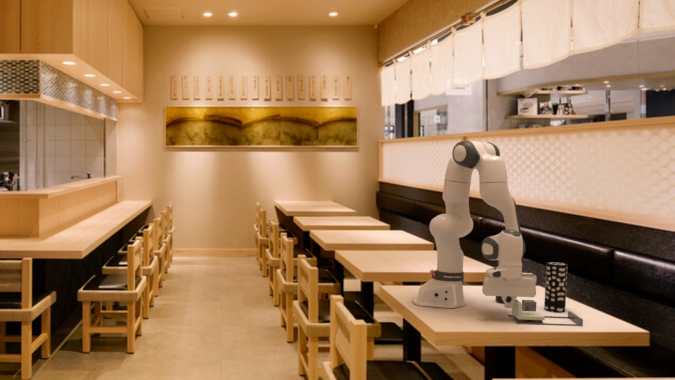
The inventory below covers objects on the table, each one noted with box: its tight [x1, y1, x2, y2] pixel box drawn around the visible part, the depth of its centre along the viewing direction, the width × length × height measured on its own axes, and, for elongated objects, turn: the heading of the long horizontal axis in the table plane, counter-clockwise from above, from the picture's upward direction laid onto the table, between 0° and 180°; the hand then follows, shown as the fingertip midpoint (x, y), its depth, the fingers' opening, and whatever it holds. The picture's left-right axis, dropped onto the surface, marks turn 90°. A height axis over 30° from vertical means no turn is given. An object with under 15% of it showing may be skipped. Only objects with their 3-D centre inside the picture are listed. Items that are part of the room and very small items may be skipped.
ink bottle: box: [494, 296, 517, 305], centre depth 282 cm, size 10×9×12 cm
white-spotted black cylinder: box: [543, 261, 569, 314], centre depth 269 cm, size 8×8×20 cm
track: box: [507, 311, 584, 327], centre depth 250 cm, size 25×12×3 cm, turn 90°
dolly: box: [511, 298, 546, 323], centre depth 250 cm, size 10×9×8 cm
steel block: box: [521, 299, 537, 311], centre depth 262 cm, size 4×4×5 cm
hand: (508, 307), depth 250 cm, fingers closed
